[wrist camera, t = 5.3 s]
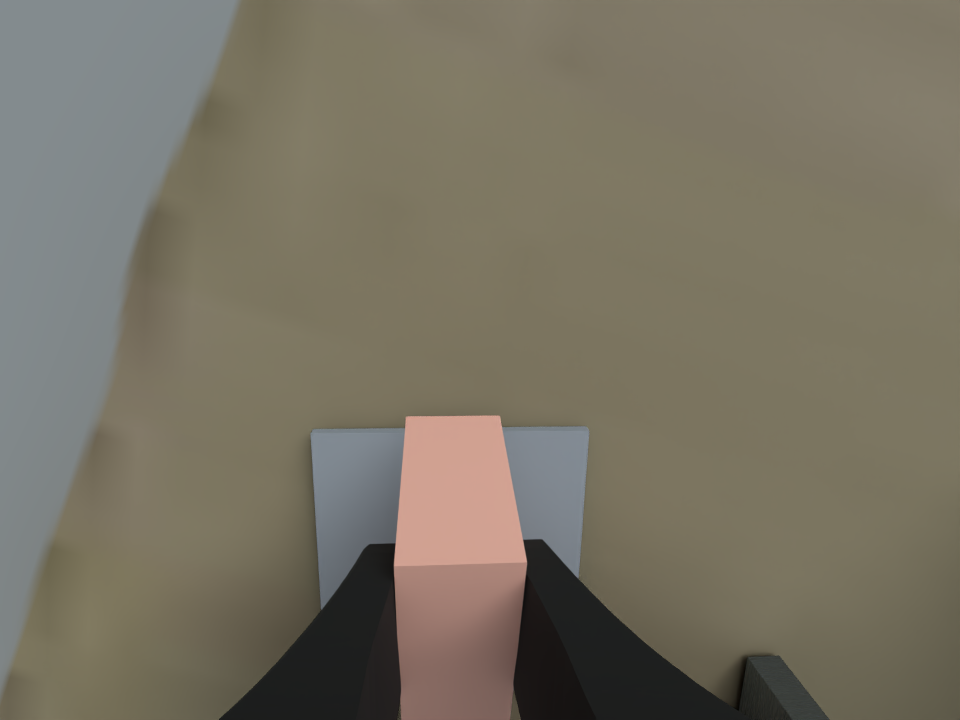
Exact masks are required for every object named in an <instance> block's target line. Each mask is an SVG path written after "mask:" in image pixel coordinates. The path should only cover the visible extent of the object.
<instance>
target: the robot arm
mask: <svg viewBox="0 0 960 720" xmlns="http://www.w3.org/2000/svg"><path fill="white" fill-rule="evenodd" d="M523 543H524V548H525V554H526V559H527V568H526V578H525V587H524V596H523V605H522V614H521V624H520V633H519V642H518V651H517V658H516V665H515V672H514V681H513V687H514V691H515V695H516V700H517V704H518V708H519V713H520V717H521V720H752V719H750V718H748V717H747V716H745V715H744V714H742V713H741V712H739V711H738V710H736V709H734V708H733V707H731V706H730V705H728V704H727V703H725V702H724V701H722V700H721V699H719V698H717V697H716V696H715V695H713V694H712V693H710V692H709V691H707V690H706V689H705V688H703V687H702V686H700V685H699V684H697V683H696V682H695V681H693V680H692V679H691V678H689V677H688V676H687V675H685V674H684V673H683V672H681V671H680V670H679V669H677V668H676V667H675V666H673V665H672V664H671V663H670V662H668V661H667V660H666V659H664V658H663V657H662V656H660V655H659V654H658V653H657V652H655V651H654V650H653V649H652V648H651V647H649V646H648V645H647V644H646V643H645V642H643V641H642V640H641V639H640V638H639V637H638V636H637V635H635V634H634V633H633V632H632V631H631V630H630V629H629V628H628V627H626V626H625V625H624V624H623V623H622V622H621V621H620V620H619V619H618V618H617V617H615V616H614V615H613V614H612V613H611V612H610V611H609V610H608V609H607V608H606V607H605V606H604V605H603V604H602V603H601V602H600V601H599V600H598V599H597V598H596V597H595V596H594V595H593V594H592V593H591V592H590V591H589V590H588V589H587V587H586V586H585V585H584V584H583V583H582V582H581V581H580V580H579V579H578V578H577V577H576V576H575V575H574V574H573V572H572V571H571V570H570V569H569V568H568V567H567V566H566V565H565V564H564V562H563V561H562V560H561V559H560V558H559V557H558V556H557V555H556V553H555V552H554V551H553V550H552V549H551V548H550V547H549V546H548V545H547V544H546V543H545V542H544V540H543V539H527V540H523ZM395 546H396V543H385V544H369V545H368V546H367V547H365V548H364V549H363V551H362V552H361V554H360V556H359V558H358V559H357V561H356V562H355V564H354V565H353V567H352V569H351V570H350V572H349V573H348V574H347V576H346V577H345V579H344V580H343V582H342V583H341V585H340V586H339V587H338V589H337V590H336V592H335V593H334V594H333V595H332V597H331V598H330V599H329V601H328V602H327V603H326V605H325V606H324V607H323V609H322V610H321V611H320V613H319V614H318V615H317V617H316V618H315V619H314V620H313V622H312V623H311V624H310V625H309V626H308V628H307V629H306V630H305V631H304V632H303V633H302V635H301V636H300V637H299V638H298V639H297V640H296V642H295V643H294V644H293V645H292V646H291V647H290V648H289V650H288V651H287V652H286V653H285V654H284V655H283V657H282V658H281V659H280V660H279V661H278V662H277V663H276V664H275V665H274V666H273V667H272V668H271V669H270V671H269V672H268V673H267V674H266V675H265V676H264V677H263V678H262V679H261V680H260V681H259V682H258V683H257V684H256V685H255V686H254V687H253V688H252V689H251V690H250V691H249V692H248V693H247V694H246V695H245V696H244V697H243V698H242V699H241V700H240V701H239V702H237V703H236V704H235V705H234V706H233V707H232V708H231V709H230V710H229V711H228V712H227V713H225V714H224V715H223V716H222V717H221V718H220V719H219V720H397V716H398V710H399V703H400V696H401V677H400V665H399V652H398V640H397V621H396V600H395V580H394V559H395Z"/></svg>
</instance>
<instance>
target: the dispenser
mask: <svg viewBox="0 0 960 720" xmlns="http://www.w3.org/2000/svg"><path fill="white" fill-rule="evenodd" d="M739 712H741V713H742V714H744V715H745V716H747V717H748V718H750V719H752V720H829V718H828V717H827V716H826V715H825V713H824V712H823V711H822V709H821V708H820V707H819V706H818V704H817V703H816V702H815V701H814V699H813V698H812V697H811V696H810V694H809V693H808V692H807V690H806V689H805V688H804V687H803V685H802V684H801V683H800V682H799V680H798V679H797V678H796V677H795V675H794V674H793V673H792V671H791V670H790V669H789V668H788V666H787V665H786V664H785V663H784V661H783V660H782V659H781V657H780V656H759V657H748V658H747V664H746V670H745V676H744V682H743V688H742V694H741V700H740V706H739Z"/></svg>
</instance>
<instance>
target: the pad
mask: <svg viewBox="0 0 960 720" xmlns="http://www.w3.org/2000/svg"><path fill="white" fill-rule="evenodd" d="M502 431H503V436H504V441H505V447H506V452H507V457H508V463H509V468H510V473H511V479H512V484H513V489H514V495H515V500H516V505H517V511H518V516H519V521H520V527H521V532H522V538H523V540H527V539H543V540H544V542H545V543H546V544H547V545H548V546H549V547H550V548H551V549H552V550H553V551H554V552H555V553H556V555H557V556H558V557H559V558H560V559H561V560H562V561H563V562H564V564H565V565H566V566H567V567H568V568H569V569H570V570H571V571H572V572H573V574H574V575H575V576H576V577H577V578H579V564H580V551H581V537H582V523H583V509H584V495H585V482H586V468H587V454H588V440H589V430H588V428H587V427H586V426H569V427H502ZM404 436H405V428H369V429H313V430H312V432H311V448H312V465H313V482H314V499H315V515H316V532H317V549H318V566H319V583H320V600H321V610H322V609H323V607H324V606H325V605H326V603H327V602H328V601H329V599H330V598H331V597H332V595H333V594H334V593H335V592H336V590H337V589H338V587H339V586H340V585H341V583H342V582H343V580H344V579H345V577H346V576H347V574H348V573H349V572H350V570H351V569H352V567H353V565H354V564H355V562H356V561H357V559H358V558H359V556H360V554H361V552H362V551H363V549H364V548H365V547H367V546H368V545H369V544H385V543H396V534H397V522H398V510H399V497H400V485H401V473H402V461H403V448H404ZM513 690H514V688H513Z"/></svg>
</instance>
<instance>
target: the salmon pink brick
mask: <svg viewBox="0 0 960 720" xmlns="http://www.w3.org/2000/svg"><path fill="white" fill-rule="evenodd" d="M526 568H527V559H526V554H525V548H524V543H523V538H522V532H521V527H520V521H519V516H518V511H517V505H516V500H515V495H514V489H513V484H512V479H511V473H510V468H509V463H508V457H507V452H506V447H505V441H504V436H503V431H502V425H501V420H500V416H406V424H405V436H404V448H403V461H402V473H401V485H400V497H399V510H398V522H397V534H396V546H395V559H394V580H395V600H396V621H397V640H398V652H399V665H400V677H401V696H400V702H401V720H510V716H511V707H512V697H513V688H514V687H513V681H514V672H515V665H516V658H517V651H518V642H519V633H520V624H521V614H522V605H523V596H524V587H525V578H526Z"/></svg>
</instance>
